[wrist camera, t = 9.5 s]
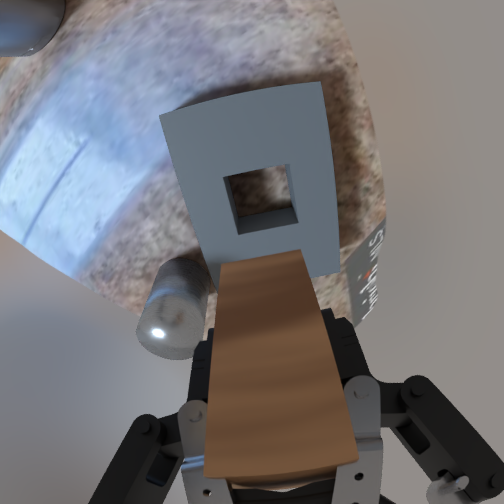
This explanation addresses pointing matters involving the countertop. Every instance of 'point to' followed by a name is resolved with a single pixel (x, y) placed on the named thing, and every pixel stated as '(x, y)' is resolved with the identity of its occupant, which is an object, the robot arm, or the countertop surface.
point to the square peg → (273, 380)
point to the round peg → (175, 310)
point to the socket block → (253, 158)
